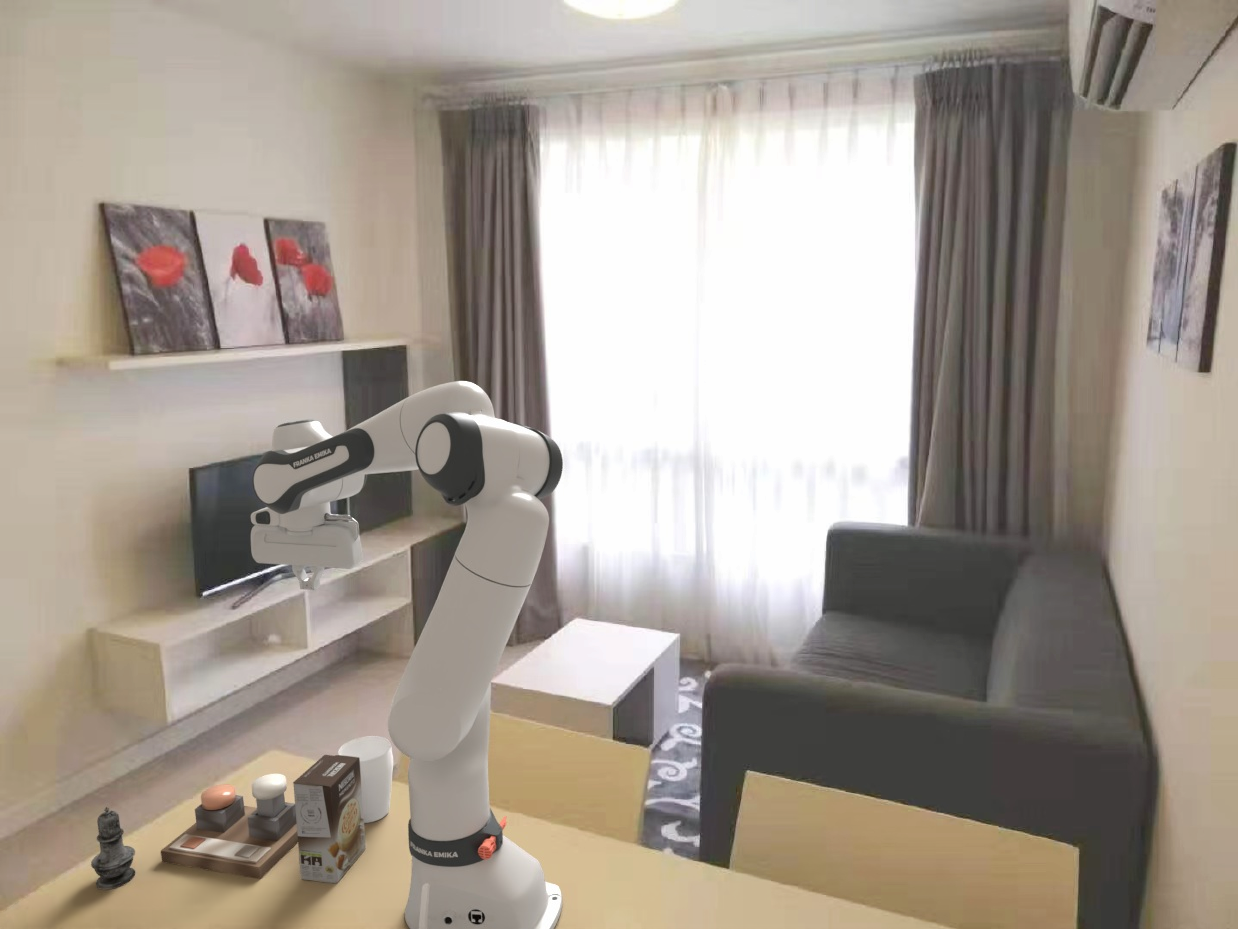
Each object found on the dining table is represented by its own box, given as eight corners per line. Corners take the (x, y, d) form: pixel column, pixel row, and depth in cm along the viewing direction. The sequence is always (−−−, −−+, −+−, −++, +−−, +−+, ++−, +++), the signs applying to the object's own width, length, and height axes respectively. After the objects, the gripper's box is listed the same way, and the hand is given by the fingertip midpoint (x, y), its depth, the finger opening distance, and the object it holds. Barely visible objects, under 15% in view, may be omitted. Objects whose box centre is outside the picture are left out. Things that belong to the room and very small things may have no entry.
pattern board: (313, 826, 148) (311, 797, 147) (260, 879, 134) (257, 846, 133) (222, 813, 152) (219, 783, 151) (161, 862, 139) (158, 830, 138)
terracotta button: (244, 814, 148) (242, 786, 147) (223, 832, 143) (220, 803, 142) (218, 810, 149) (215, 782, 148) (196, 828, 144) (193, 799, 143)
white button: (295, 804, 145) (292, 775, 144) (275, 822, 140) (272, 792, 139) (267, 800, 146) (265, 772, 145) (247, 818, 141) (244, 788, 140)
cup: (381, 792, 158) (376, 730, 156) (406, 812, 151) (401, 748, 149) (333, 812, 152) (328, 748, 150) (357, 834, 145) (352, 767, 143)
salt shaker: (118, 893, 132) (108, 820, 129) (84, 888, 133) (74, 816, 131) (146, 868, 137) (137, 798, 135) (113, 864, 138) (104, 794, 136)
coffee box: (338, 885, 133) (330, 787, 130) (299, 880, 134) (291, 783, 131) (367, 848, 141) (360, 756, 139) (331, 844, 143) (323, 753, 140)
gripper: (367, 511, 153) (372, 587, 155) (265, 506, 158) (271, 580, 160) (347, 519, 147) (353, 598, 149) (242, 514, 152) (249, 591, 154)
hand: (310, 589), depth 155 cm, fingers closed
